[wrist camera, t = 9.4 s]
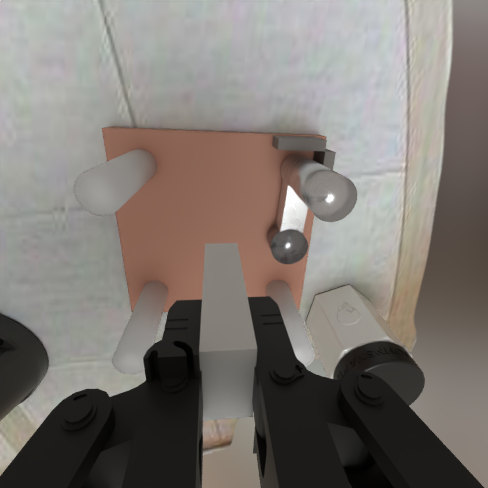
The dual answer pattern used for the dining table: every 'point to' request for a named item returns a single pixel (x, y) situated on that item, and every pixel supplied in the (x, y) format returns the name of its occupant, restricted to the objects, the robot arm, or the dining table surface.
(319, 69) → the dining table surface
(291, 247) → the shiny metal angled handle
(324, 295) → the jar
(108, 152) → the seat
